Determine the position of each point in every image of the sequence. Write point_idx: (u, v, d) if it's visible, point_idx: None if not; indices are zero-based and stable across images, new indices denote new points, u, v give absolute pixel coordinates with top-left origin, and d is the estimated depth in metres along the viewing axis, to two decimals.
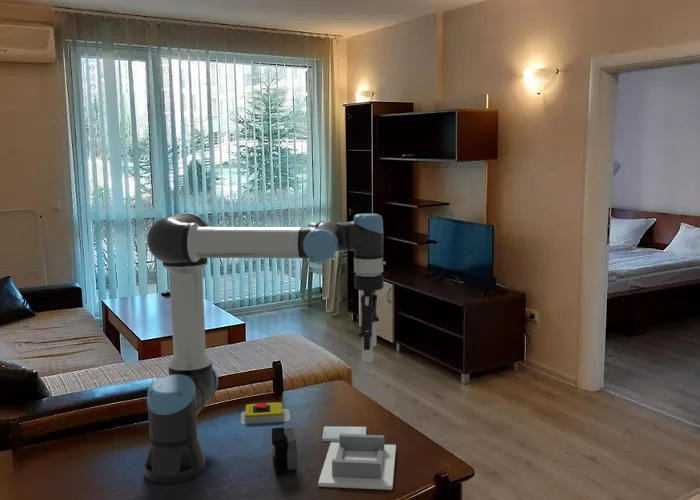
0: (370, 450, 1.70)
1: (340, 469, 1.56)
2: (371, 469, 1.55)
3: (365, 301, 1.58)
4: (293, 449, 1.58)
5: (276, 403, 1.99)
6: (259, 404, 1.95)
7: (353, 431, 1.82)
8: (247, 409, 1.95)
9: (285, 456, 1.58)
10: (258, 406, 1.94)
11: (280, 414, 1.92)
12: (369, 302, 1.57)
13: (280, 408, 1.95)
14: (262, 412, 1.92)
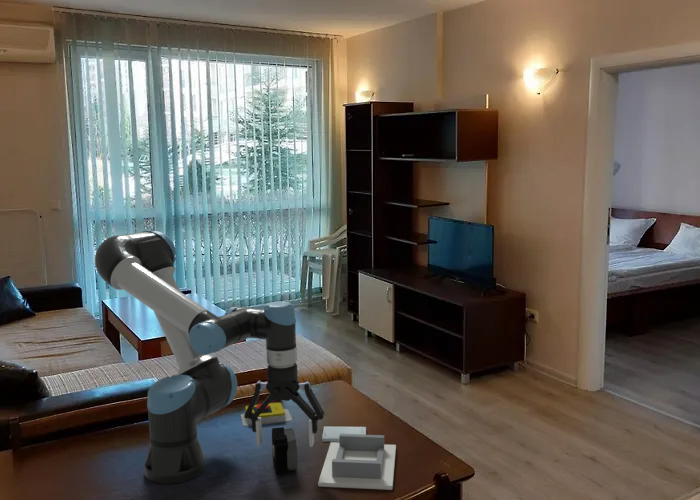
0: (370, 450, 1.70)
1: (340, 469, 1.56)
2: (371, 469, 1.55)
3: None
4: (293, 449, 1.58)
5: (275, 403, 1.99)
6: (260, 405, 1.95)
7: (353, 431, 1.82)
8: None
9: (285, 456, 1.58)
10: None
11: (282, 414, 1.92)
12: None
13: (281, 408, 1.95)
14: (264, 413, 1.92)
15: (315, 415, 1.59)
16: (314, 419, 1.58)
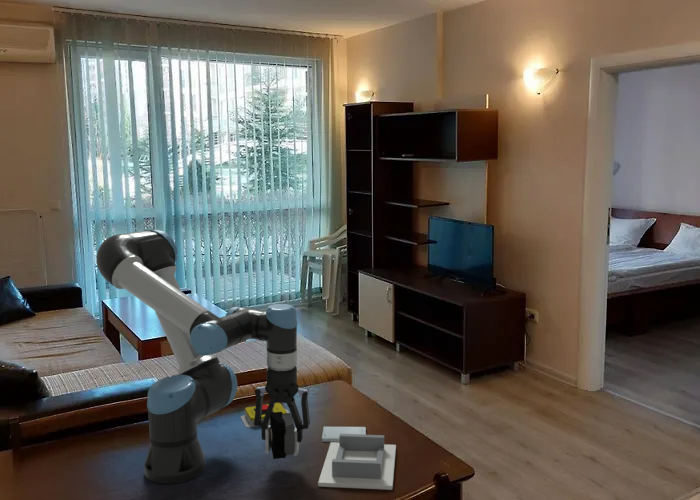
0: (370, 450, 1.70)
1: (340, 469, 1.56)
2: (371, 469, 1.55)
3: None
4: (291, 433, 1.57)
5: (275, 404, 1.99)
6: None
7: (353, 431, 1.82)
8: (249, 412, 1.92)
9: (282, 440, 1.57)
10: None
11: None
12: None
13: (282, 408, 1.95)
14: None
15: (300, 424, 1.60)
16: (299, 429, 1.59)
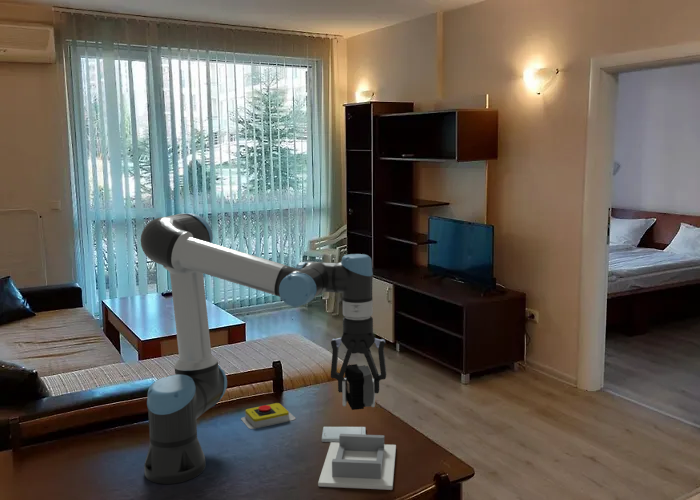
0: (370, 450, 1.70)
1: (340, 469, 1.56)
2: (371, 469, 1.55)
3: None
4: (369, 383, 1.56)
5: (274, 404, 1.98)
6: (262, 407, 1.93)
7: (353, 431, 1.82)
8: (250, 413, 1.91)
9: (361, 390, 1.56)
10: (262, 409, 1.92)
11: (287, 414, 1.92)
12: None
13: (283, 408, 1.95)
14: (268, 414, 1.91)
15: (377, 375, 1.59)
16: (377, 379, 1.58)
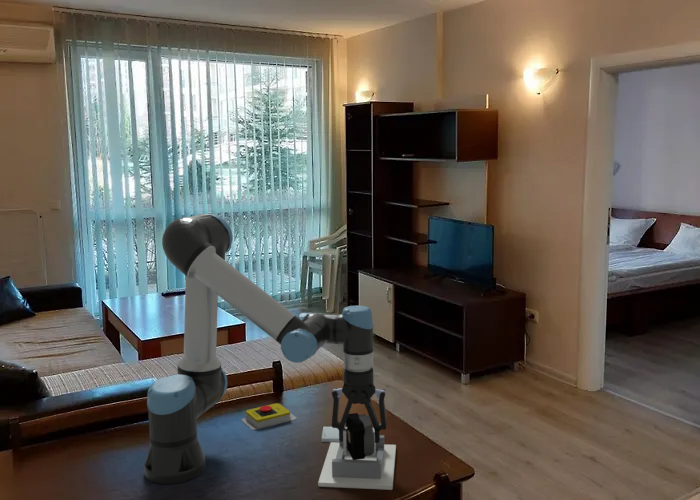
0: None
1: (340, 469, 1.56)
2: (371, 469, 1.55)
3: None
4: (370, 434, 1.58)
5: (274, 404, 1.98)
6: (263, 407, 1.93)
7: None
8: (252, 414, 1.91)
9: (362, 441, 1.58)
10: (264, 409, 1.91)
11: (288, 413, 1.92)
12: None
13: (283, 408, 1.95)
14: (270, 414, 1.90)
15: (378, 425, 1.61)
16: (377, 429, 1.60)
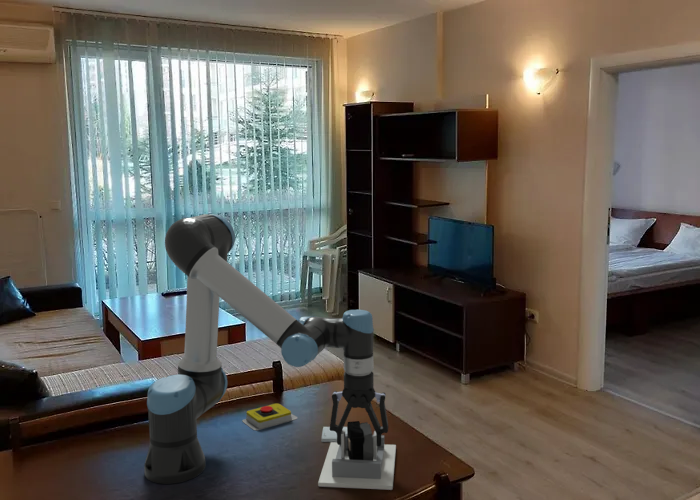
0: None
1: (340, 469, 1.56)
2: (371, 469, 1.55)
3: None
4: (369, 443, 1.58)
5: (274, 405, 1.98)
6: (263, 408, 1.92)
7: None
8: (253, 415, 1.90)
9: (361, 450, 1.58)
10: (265, 410, 1.91)
11: (290, 413, 1.92)
12: None
13: (284, 408, 1.95)
14: (272, 415, 1.90)
15: (380, 428, 1.61)
16: (379, 433, 1.60)
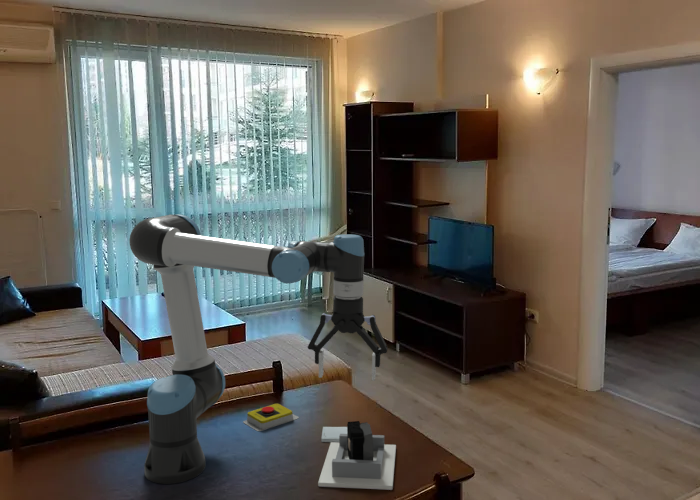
0: None
1: (340, 469, 1.56)
2: (371, 469, 1.55)
3: None
4: (369, 443, 1.58)
5: (274, 405, 1.98)
6: (265, 408, 1.92)
7: None
8: (255, 416, 1.90)
9: (361, 450, 1.58)
10: (266, 410, 1.91)
11: (291, 413, 1.92)
12: None
13: (285, 408, 1.95)
14: (274, 415, 1.90)
15: (379, 349, 1.60)
16: (378, 352, 1.59)
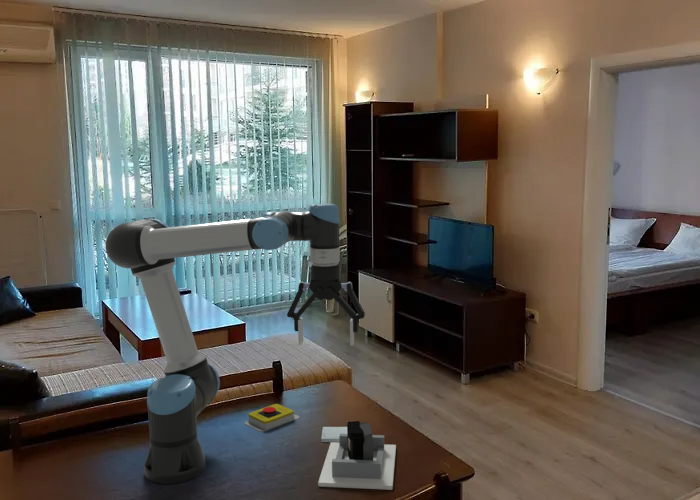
0: None
1: (340, 469, 1.56)
2: (371, 469, 1.55)
3: None
4: (369, 443, 1.58)
5: (274, 405, 1.98)
6: (266, 409, 1.92)
7: None
8: (257, 417, 1.89)
9: (361, 450, 1.58)
10: (268, 411, 1.90)
11: (292, 413, 1.93)
12: None
13: (285, 408, 1.95)
14: (276, 415, 1.90)
15: (356, 314, 1.64)
16: (355, 318, 1.63)
